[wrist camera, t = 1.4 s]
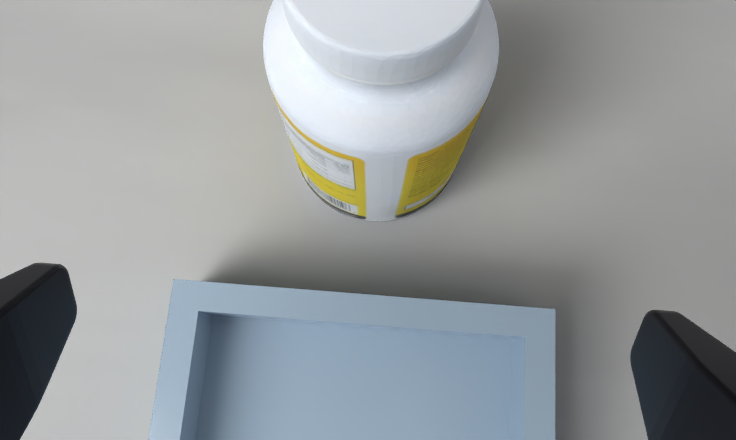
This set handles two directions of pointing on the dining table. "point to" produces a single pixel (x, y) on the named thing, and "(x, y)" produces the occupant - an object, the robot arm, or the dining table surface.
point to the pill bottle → (379, 95)
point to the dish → (350, 367)
